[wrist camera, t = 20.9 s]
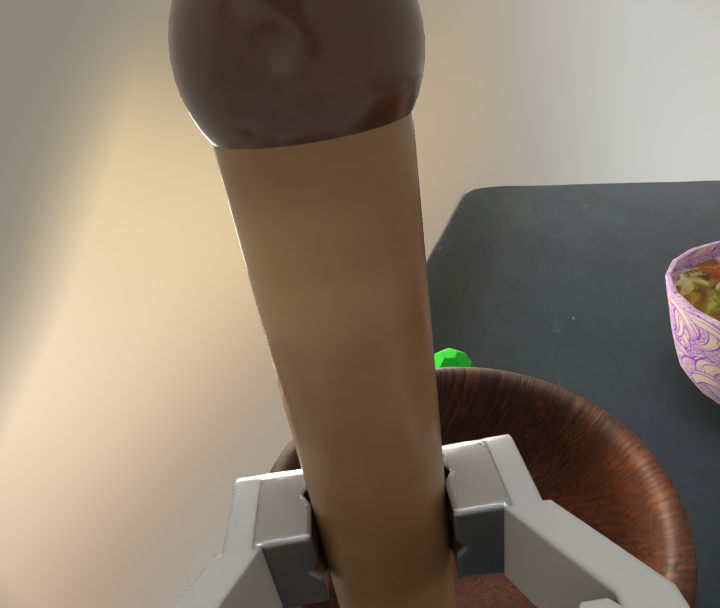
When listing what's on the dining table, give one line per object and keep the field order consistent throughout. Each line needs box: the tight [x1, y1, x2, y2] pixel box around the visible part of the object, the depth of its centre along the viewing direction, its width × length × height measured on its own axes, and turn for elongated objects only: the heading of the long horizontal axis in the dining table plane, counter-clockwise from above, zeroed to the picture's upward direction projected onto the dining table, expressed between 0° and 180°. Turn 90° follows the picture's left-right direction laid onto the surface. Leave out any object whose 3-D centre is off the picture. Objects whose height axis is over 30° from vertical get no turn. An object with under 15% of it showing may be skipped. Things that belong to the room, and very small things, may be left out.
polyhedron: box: [434, 348, 475, 368], centre depth 53 cm, size 5×5×5 cm
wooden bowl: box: [269, 367, 697, 608], centre depth 34 cm, size 25×25×10 cm
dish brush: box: [168, 0, 456, 608], centre depth 11 cm, size 6×6×23 cm
